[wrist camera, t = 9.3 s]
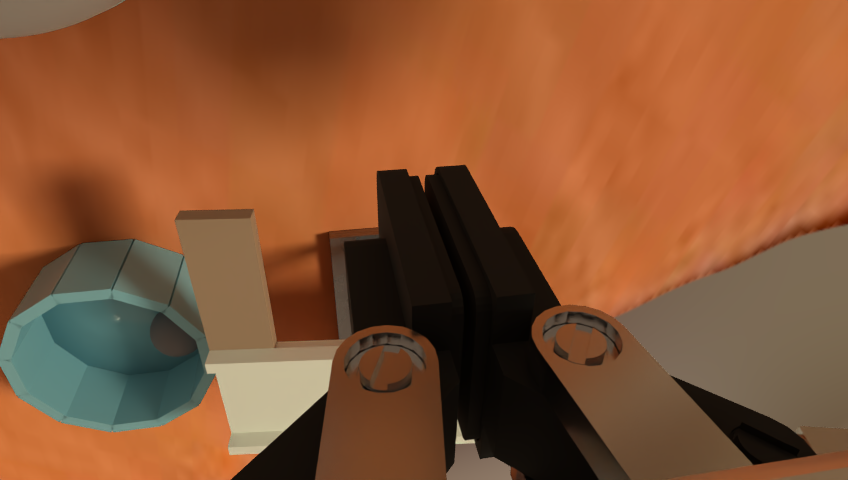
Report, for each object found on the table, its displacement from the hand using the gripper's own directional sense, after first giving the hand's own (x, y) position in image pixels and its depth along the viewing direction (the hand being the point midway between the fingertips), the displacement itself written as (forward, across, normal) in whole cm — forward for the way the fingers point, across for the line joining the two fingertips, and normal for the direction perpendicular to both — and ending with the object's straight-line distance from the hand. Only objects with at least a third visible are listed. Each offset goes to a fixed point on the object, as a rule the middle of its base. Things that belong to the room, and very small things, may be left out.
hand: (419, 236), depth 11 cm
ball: (+26, +14, +24) cm, 38 cm away
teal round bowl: (+29, +18, +24) cm, 42 cm away
